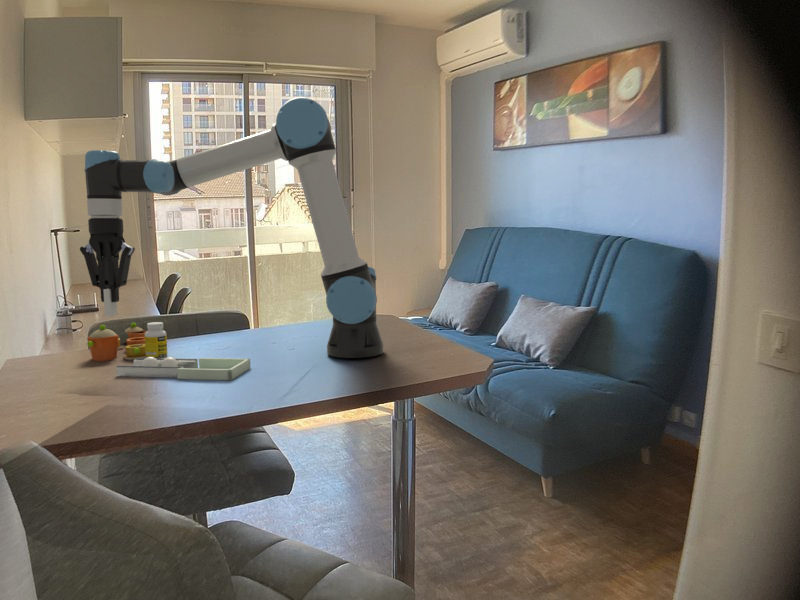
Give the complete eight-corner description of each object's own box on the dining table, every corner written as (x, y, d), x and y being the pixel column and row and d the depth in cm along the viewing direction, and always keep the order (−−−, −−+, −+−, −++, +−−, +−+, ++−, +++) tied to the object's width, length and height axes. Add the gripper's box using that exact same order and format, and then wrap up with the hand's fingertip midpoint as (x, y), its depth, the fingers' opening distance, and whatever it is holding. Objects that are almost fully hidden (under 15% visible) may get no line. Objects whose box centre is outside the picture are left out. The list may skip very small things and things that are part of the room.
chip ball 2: (181, 370, 155) (180, 355, 154) (173, 374, 151) (172, 359, 150) (166, 370, 155) (165, 355, 155) (158, 374, 151) (157, 358, 151)
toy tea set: (151, 361, 168) (148, 325, 166) (86, 366, 163) (83, 329, 161) (154, 343, 192) (152, 312, 191) (98, 347, 187) (96, 315, 186)
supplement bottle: (160, 362, 165) (158, 325, 164) (141, 361, 166) (139, 324, 165) (171, 357, 170) (169, 321, 169) (153, 356, 171) (151, 321, 170)
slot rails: (198, 368, 157) (197, 358, 156) (180, 377, 148) (180, 367, 148) (137, 367, 159) (137, 357, 159) (117, 376, 150) (116, 365, 150)
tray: (250, 368, 156) (250, 358, 156) (231, 380, 145) (230, 370, 144) (200, 367, 158) (200, 357, 158) (177, 379, 146) (177, 369, 146)
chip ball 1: (162, 370, 155) (161, 355, 155) (154, 374, 152) (153, 358, 151) (147, 370, 156) (146, 355, 155) (139, 373, 152) (138, 358, 152)
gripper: (139, 217, 153) (144, 313, 156) (89, 217, 155) (95, 312, 158) (122, 217, 146) (127, 318, 149) (70, 217, 147) (76, 317, 150)
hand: (111, 315), depth 153 cm, fingers closed
